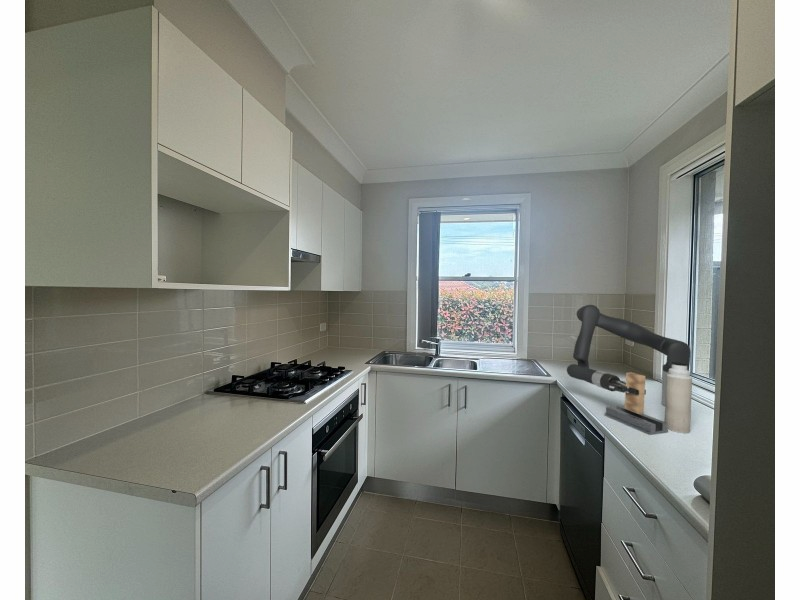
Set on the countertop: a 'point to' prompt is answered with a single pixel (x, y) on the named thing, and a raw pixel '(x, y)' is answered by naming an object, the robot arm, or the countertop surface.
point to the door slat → (632, 400)
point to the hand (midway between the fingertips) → (641, 392)
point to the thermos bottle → (678, 398)
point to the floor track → (637, 420)
